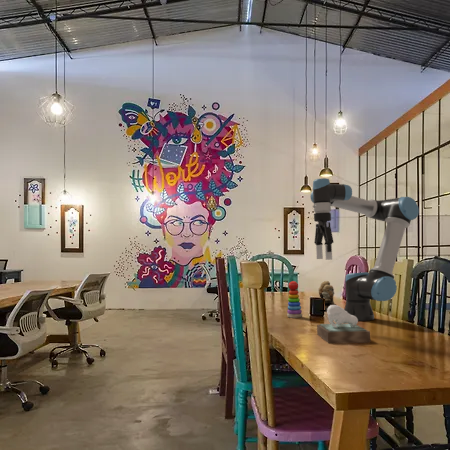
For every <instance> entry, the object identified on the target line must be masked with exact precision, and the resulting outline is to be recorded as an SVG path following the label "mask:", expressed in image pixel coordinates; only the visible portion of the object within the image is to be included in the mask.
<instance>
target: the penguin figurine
mask: <svg viewBox="0 0 450 450" xmlns="http://www.w3.org/2000/svg"><path fill="white" fill-rule="evenodd" d="M344 309H345V308H343V307H342V306H340V305H337V304H336V305H330V306H329V307H328V309H327V311H326V313H327V320H328V322H329V323H328V324H331V325H332V327H334V328H337V326H336V324H338V325H339V324H350V326H351V327H355V325H357V324H358V322H359V321H358V319H357V317H356V316H354V315H350V314H349V313H348V312H347V311H345V310H344Z"/></svg>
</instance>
